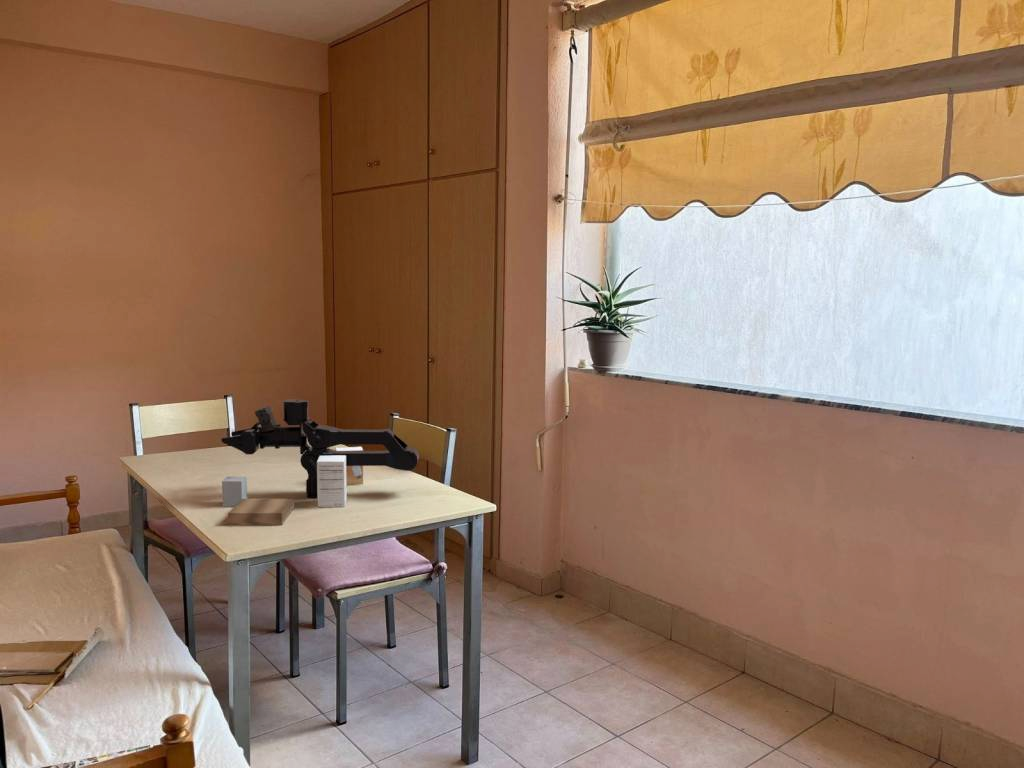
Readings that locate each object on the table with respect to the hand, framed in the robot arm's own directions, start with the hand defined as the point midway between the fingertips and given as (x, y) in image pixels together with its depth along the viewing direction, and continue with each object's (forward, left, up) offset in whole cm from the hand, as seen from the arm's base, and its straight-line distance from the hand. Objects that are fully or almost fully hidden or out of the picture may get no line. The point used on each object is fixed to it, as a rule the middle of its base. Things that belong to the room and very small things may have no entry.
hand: (226, 436), depth 217 cm
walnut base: (-14, +21, -17) cm, 30 cm away
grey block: (-4, +9, -17) cm, 19 cm away
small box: (-31, -14, -17) cm, 38 cm away
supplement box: (-30, +8, -17) cm, 35 cm away
